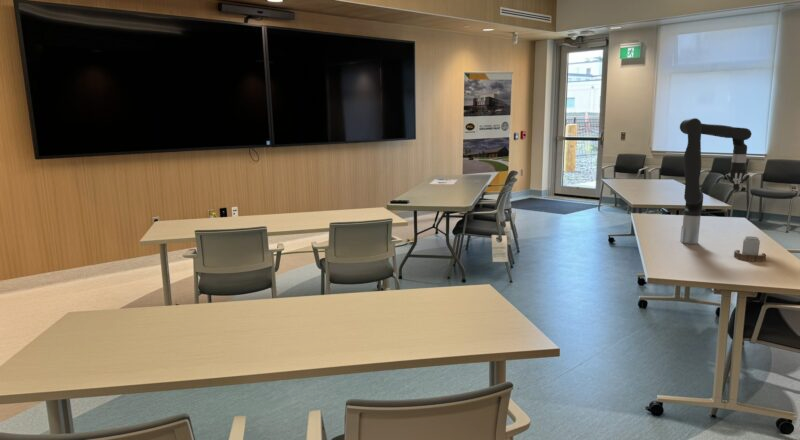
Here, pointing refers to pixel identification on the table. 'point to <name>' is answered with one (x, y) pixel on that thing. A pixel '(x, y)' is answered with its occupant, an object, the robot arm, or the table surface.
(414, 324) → the table surface
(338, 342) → the table surface
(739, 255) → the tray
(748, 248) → the can
